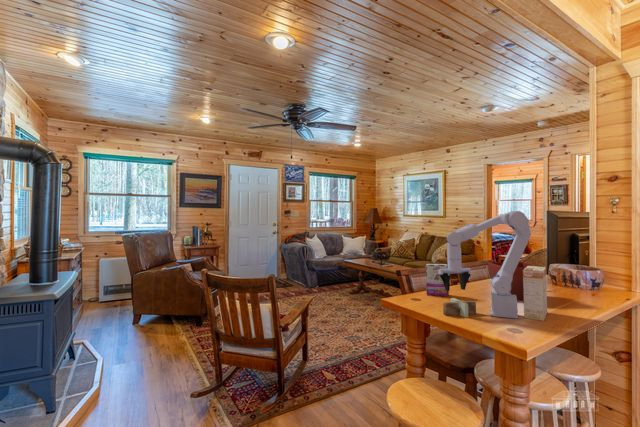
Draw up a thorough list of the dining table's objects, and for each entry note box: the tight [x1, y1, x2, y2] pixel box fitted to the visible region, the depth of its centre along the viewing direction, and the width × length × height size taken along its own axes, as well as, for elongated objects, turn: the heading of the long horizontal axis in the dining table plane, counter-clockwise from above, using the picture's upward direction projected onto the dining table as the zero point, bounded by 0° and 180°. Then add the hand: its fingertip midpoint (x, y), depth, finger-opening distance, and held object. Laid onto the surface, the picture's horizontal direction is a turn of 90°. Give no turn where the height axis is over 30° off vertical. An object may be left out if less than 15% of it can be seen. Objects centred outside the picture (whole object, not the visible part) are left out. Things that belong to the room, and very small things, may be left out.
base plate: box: [442, 300, 477, 317], centre depth 140 cm, size 14×2×5 cm, turn 100°
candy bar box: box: [425, 263, 450, 297], centre depth 175 cm, size 11×5×16 cm, turn 73°
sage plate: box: [450, 297, 469, 318], centre depth 140 cm, size 10×2×6 cm, turn 11°
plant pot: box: [487, 261, 542, 301], centre depth 167 cm, size 19×19×17 cm
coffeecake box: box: [523, 265, 548, 322], centre depth 137 cm, size 15×7×20 cm, turn 141°
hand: (455, 289), depth 144 cm, fingers open, 7 cm apart
